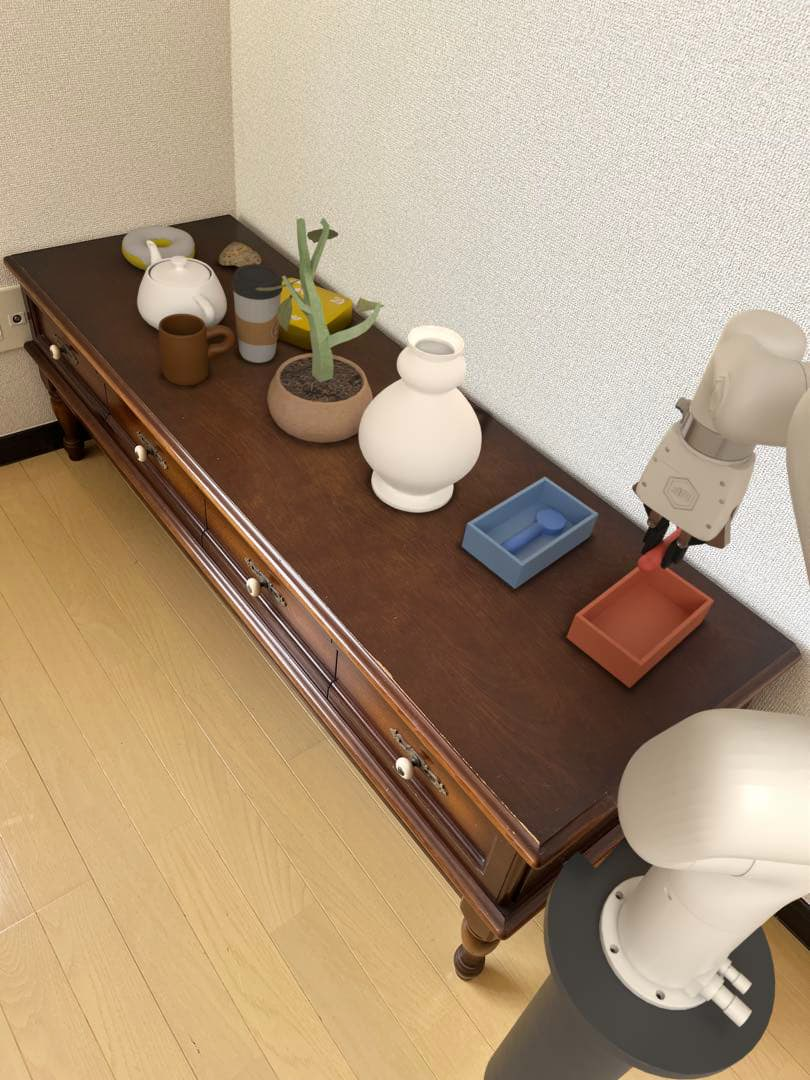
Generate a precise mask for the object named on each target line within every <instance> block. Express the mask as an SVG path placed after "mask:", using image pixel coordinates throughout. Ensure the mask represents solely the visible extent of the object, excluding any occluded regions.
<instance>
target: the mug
mask: <svg viewBox="0 0 810 1080" xmlns="http://www.w3.org/2000/svg"><path fill="white" fill-rule="evenodd" d="M218 336H225V337H224V339H223V341H222V342H220V343H211V344H209V345H208V343H209V341H208V340H210V339H212V338H213V339H214V338H215V337H218ZM158 343H159V351H160V352H159V353H160V360H161V361H160V362H161V370H162V374H163V377H164V378H165V379H166V381H168V382H170V384H174V385H177V386H182V387H183V386H184V387H188V386H194V385H198V384H200V383H202V382H204V381H206V379H207V377H208V375H209V370H210V367H209V360H210V359H211V358H212V357H214V356H216V355H221V354H224V353H227V352H229V351H230V350H231V349H232V347H233V346H234V343H235V334H234V332H233V330H232V329H231V328H230V327H229V326H226V325H221V324H217V325H216V326H214V327H211V328H208V329H206V325H205V323H204V321H203V320H202V319H201V318H199V317H197V316H194V315H191V314H173V315H169V316H167V317H165V318H163V319H162V320H161V321H160V323H159V330H158Z"/></svg>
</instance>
